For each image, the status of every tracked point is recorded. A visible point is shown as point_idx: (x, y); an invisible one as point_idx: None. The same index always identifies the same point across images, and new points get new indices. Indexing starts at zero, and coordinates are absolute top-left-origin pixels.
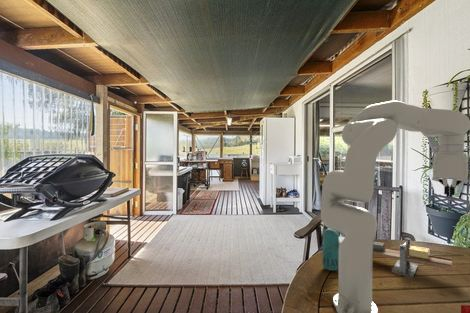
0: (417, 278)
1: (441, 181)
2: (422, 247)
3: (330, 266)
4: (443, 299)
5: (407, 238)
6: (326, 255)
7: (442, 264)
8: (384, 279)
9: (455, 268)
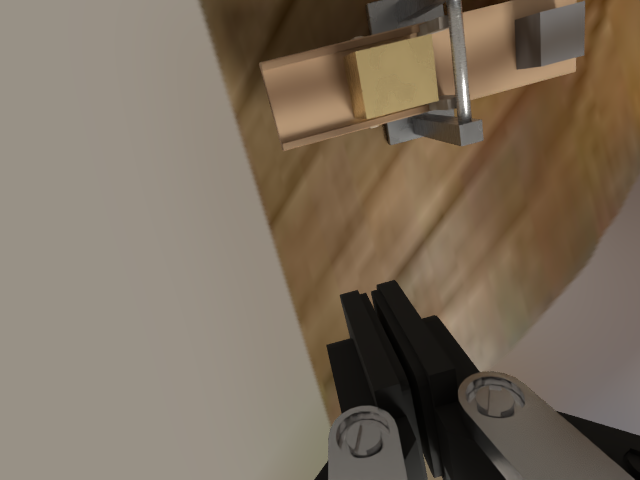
0: (354, 24)
1: (617, 460)
2: (392, 110)
3: None
4: None
5: (473, 136)
6: None
7: (290, 57)
8: None
9: (303, 248)
